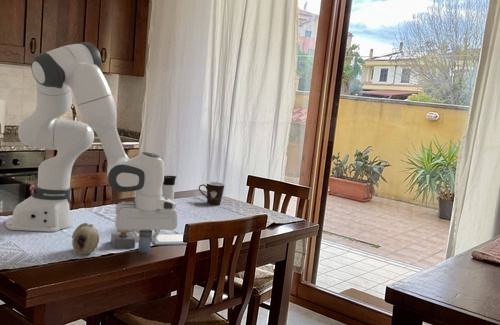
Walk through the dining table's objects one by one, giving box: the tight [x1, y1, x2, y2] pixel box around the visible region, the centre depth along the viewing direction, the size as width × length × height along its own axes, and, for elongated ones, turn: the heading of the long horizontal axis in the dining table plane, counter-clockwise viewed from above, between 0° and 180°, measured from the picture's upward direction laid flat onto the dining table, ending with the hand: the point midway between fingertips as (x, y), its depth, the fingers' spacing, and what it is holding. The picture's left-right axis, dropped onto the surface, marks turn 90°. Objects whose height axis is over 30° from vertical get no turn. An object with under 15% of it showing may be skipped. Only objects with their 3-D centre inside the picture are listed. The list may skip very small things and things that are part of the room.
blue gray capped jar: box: [137, 230, 153, 254], centre depth 174 cm, size 4×4×7 cm
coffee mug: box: [198, 181, 225, 206], centre depth 253 cm, size 12×9×10 cm
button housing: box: [110, 232, 136, 249], centre depth 179 cm, size 7×7×3 cm
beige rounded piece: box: [71, 222, 100, 256], centre depth 167 cm, size 9×8×10 cm
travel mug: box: [162, 175, 177, 202], centre depth 207 cm, size 6×7×20 cm
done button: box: [116, 228, 131, 237], centre depth 178 cm, size 4×4×5 cm
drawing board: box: [152, 233, 186, 246], centre depth 190 cm, size 14×11×1 cm
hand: (144, 241), depth 175 cm, fingers closed on blue gray capped jar, 4 cm apart
